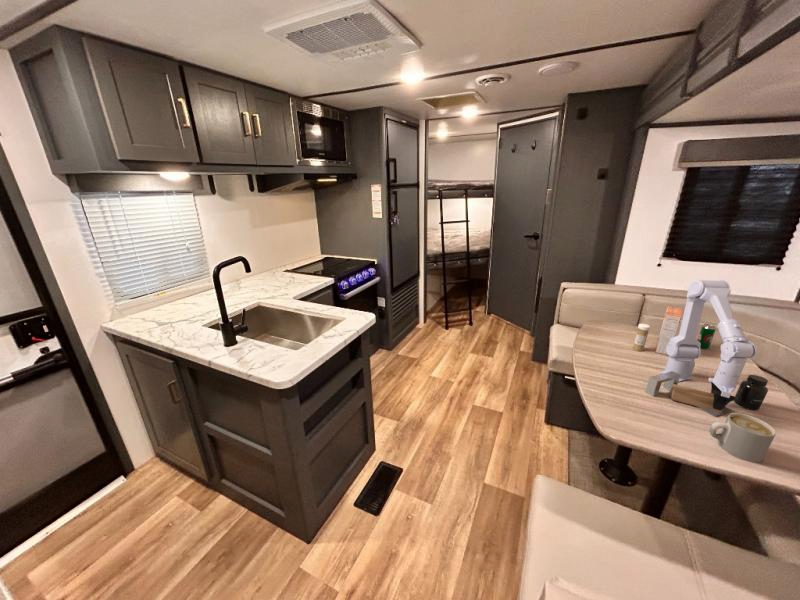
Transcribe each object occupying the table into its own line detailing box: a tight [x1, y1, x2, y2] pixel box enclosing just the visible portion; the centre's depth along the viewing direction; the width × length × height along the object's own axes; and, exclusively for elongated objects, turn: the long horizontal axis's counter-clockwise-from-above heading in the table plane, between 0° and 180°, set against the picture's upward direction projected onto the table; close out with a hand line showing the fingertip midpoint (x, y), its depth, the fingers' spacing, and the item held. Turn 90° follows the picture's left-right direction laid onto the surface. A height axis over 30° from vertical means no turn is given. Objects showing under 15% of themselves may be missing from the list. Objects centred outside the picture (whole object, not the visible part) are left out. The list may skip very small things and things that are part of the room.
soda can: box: [696, 323, 717, 350], centre depth 157 cm, size 5×5×12 cm
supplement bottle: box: [733, 374, 769, 411], centre depth 115 cm, size 7×7×12 cm
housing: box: [644, 371, 680, 397], centre depth 125 cm, size 13×3×7 cm, turn 108°
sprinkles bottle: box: [632, 323, 651, 352], centre depth 155 cm, size 5×5×13 cm
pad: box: [695, 406, 733, 417], centre depth 119 cm, size 9×15×1 cm, turn 18°
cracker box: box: [654, 305, 683, 357], centre depth 154 cm, size 14×6×21 cm, turn 138°
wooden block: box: [669, 384, 722, 412], centre depth 117 cm, size 4×14×5 cm, turn 58°
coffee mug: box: [708, 412, 777, 463], centre depth 97 cm, size 13×10×10 cm
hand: (715, 403), depth 115 cm, fingers open, 7 cm apart
